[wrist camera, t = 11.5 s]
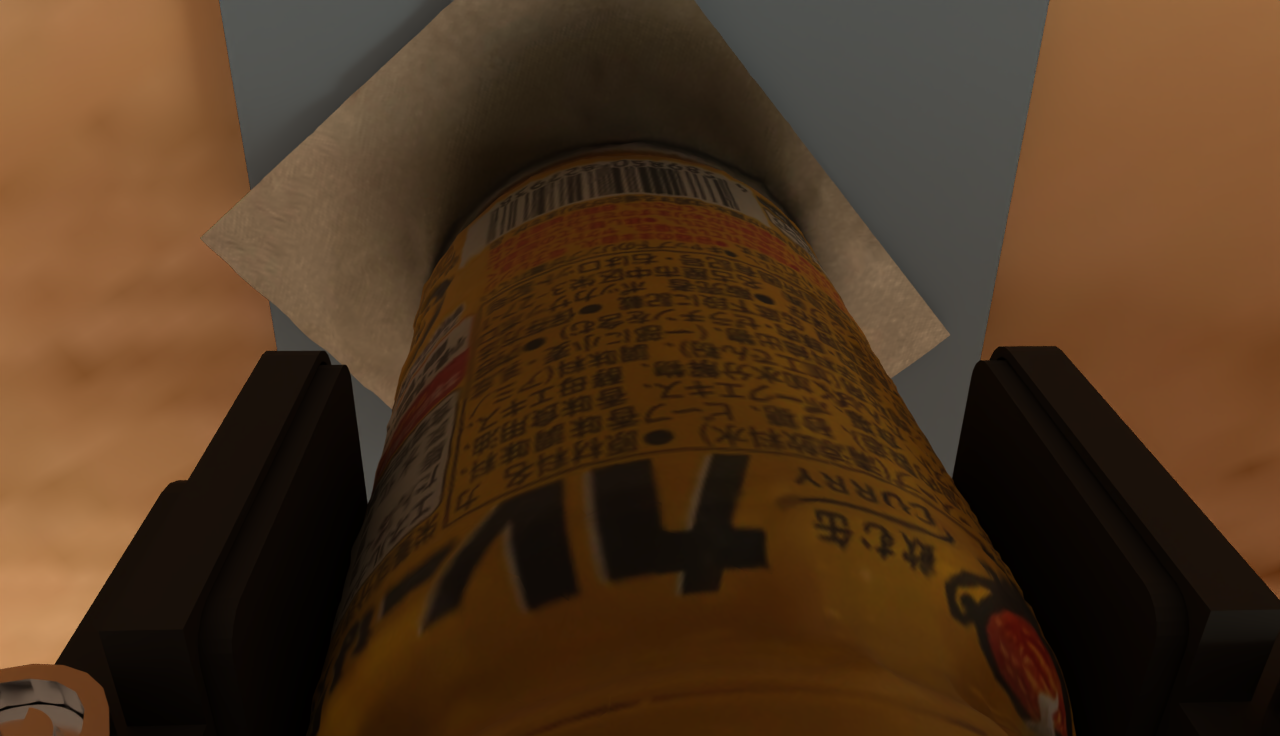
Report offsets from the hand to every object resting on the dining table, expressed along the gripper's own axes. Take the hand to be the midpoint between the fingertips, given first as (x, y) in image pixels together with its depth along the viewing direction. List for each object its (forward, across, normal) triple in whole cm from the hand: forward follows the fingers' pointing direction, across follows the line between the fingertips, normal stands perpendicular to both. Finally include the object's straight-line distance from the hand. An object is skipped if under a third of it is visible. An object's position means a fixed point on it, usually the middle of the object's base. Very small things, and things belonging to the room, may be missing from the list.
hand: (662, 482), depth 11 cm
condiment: (+6, +1, 0) cm, 6 cm away
